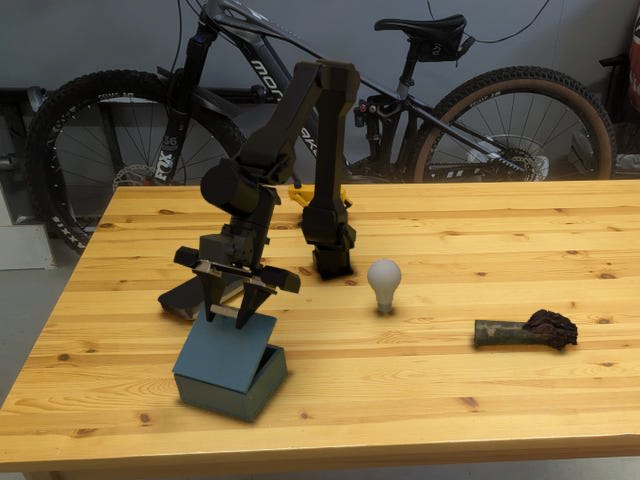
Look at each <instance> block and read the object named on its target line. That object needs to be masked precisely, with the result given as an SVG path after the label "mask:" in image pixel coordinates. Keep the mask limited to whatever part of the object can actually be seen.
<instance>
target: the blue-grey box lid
mask: <svg viewBox="0 0 640 480" xmlns="http://www.w3.org/2000/svg"><path fill="white" fill-rule="evenodd" d="M239 309H240V307H237V306H232V305H227V304H223V303H220V304H217V303H213V304H212V305H211V309H210V310H211V313H213V314H216V315H215V317H214V319H213V321H212V322H207V321H206V312H205V302H204V303H203V305H202V307H201V309H200V311H199V313H198V315H197V318H195V319H194V322H193V324H192V327H191V329H190V330H189V333H188V335H187V337H186V339H185V341H184V343H183V346H182V347H181V350H180V352H179V354H178V356H177V358H176V360H175V362H174V365H173V366H172V369H171V373H173V374H178V375H182V376H186V377H189V378H193V379H196V380H200V381H203V382H207V383H210V384H214V385H217V386H221V387H224V388H228V389H231V390H235V391H238V392H242V393H245V394H246V393H247V391H248V389H249V386H250V384H251V381H252V379H253V377H254V374H255V372H256V370H257V367H258V365H259V362H260V360H261V358H262V355H263V353H264V351H265V348H266V346H267V343H268V344H269V341H270V339H271V336H272V333H273V331H274V330H275V326H276V324H277V322H278V318H277V317H275V316H272V315H268V314H264V313H261V312H257V311H255V313H254V314H253V315H252V316H251V318H250V319H249V320H248V321H247V323H246V324H245V325H244V326H243V328H242V329H241V330H238V329H236V328H235V327H236V321H237V316H238V313H239Z"/></svg>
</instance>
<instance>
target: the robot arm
mask: <svg viewBox="0 0 640 480" xmlns="http://www.w3.org/2000/svg"><path fill="white" fill-rule="evenodd" d="M360 87H361V74H360V72H359V71H358V70H357V68H356V66H355V64H354V63H352V62H347V61H340V60H333V59H332V60H331V59H326V58H325V59H324V58H319V59H318V58H317V60H316V61H307V60H300V61H297V62H296V63H295V65H294V66H293V73H292V77H291V78H290V80H289V83H288V85H287V87H286V88H285V90H284V92H283V94H282V95H281V97H280V99H279V101H278V103H277V104H276V106H275V108H274V110H273V112H272V114H271V116H270V118H269V119H268V121H267V122H266V124H265V125H264V126H262V127H260V128H258V129H257V130H254V131H253V132H251V134H250V135H249V136H248V138H247V139H246V140H245V142H244V143H243V144H242V145H241V148H240V149H239V150H238V151H237V152H236V153H235V154H234V155H233V156H232V157H231V158H229V157H224V156H221V157H220V159H219V163H218V164H216V165H214V166H212V167H210V168H209V169H208V170H207V171H206V172H205V174H204V175H203V176H202V177H201V179H200V183H199V191H200V194H201V197H202V199H203V200H204V201H205V202H207V203H208V204H210V205H212V206H214V207H215V208H217V209H219V210H221V211H222V212H225V214H228V215H230V220H229V223H223V225H222V226H221V228H220V229H221V230H220V232H219V233H209V234H204V235H200V236H199V242H198V243H199V244H198V248H193V247H190V246H185V245H181V246H180V247H179V248H177V250H175V252H174V257H173V260H172V262H173V263H174V264H177V265H180V266H183V267H186V268H189V269H191V273H192V274H193V275H194V274H195V276H198V278H199V280H200V281H201V284H202V288H203V293H204V302H205V312H206V321H207V322H212V321H213V319H214V317H215V315H216V314H213V313H211V310H210V309H211V305H212V304H213V303H217V304H221V303H220V301H221V298H222V296H223V293H224V290H225V287H226V284H227V281H228V280H226V279H223V278H220V277H221V273H222V272H224V273H229V274H233V275H237V276H241V277H246V278H250V283H248V282H244V281H243V287H244V289H243V295H242V299H241V303H240V306H239V308H240V309H239V313H238V316H237V321H236V327H235V328H236V329H238V330H241V329H242V328H243V326H244V325H245V324H246V323H247V321H248V320H249V319H250V318H251V316H252V315H253V314H254V313H255V312H257V310H258V309H259V308H260V307H261V306H262V305H263V304H264V303H265V302H266V301H267V300H268V299H269V298H270V297H271V296H272V295H274V296H277V295H278V290H276V289H277V288H278V289H279V290H280V291H284V292H287V293H290V294H291V293H292V294H296V295H299V293H300V289H301V285H302V280H301V277H300V275H299V274H297V273H296V272H293V271H291V270H289V269H286V268H282V267H277V266H273V265H269V264H263V263H261V261H262V256H263V253H264V249H265V246H270V242H271V238H269V237H268V234H269V230H270V226H271V221H272V217H273V215H274V210H275V206H281V205H282V200H281V196H280V195H279V194H278V190H277V187H275V186H279V185H280V186H281V185H285V184H286V183H287V182H288V181H289V179H290V178H291V177H292V176H291V175H292V172H293V169H294V167H295V164H296V162H297V155H296V149H295V146H296V143H297V141H298V139H299V136H300V135H301V132H302V131H303V129H304V127H305V125H306V123H307V121H308V119H309V118H310V115H311V113H312V111H313V109H314V108H315V110H316V112H317V130H316V132H317V133H316V147H315V148H316V149H315V150H316V151H315V169H314V171H315V172H314V186H315V187H314V197H313V198H312V200H311V201H310V202H308V203H309V204H308V206H305V207H304V208H303V207H302V214H303V217H302V219H303V220H302V219H301V220H302V224H301V226H300V228H301V232H302V235H303V238H304V240H305V244H306V245H308V246H309V245H310V246H311V245H312V246H313V249H312V250H311V256H312V265H313V266H312V267H313V269H314V270H315V272H316V273H317V275H319V277H320V278H321V280H322V281H329V280H333V279H337V278H342V277H345V276H346V277H347V276H350V275H353V274H354V273H355V272H354V269H353V268H352V266H351V253H350V252H351V251H350V250H353V249H355V247H356V244H355V243H356V241H357V230H356V229H355V228H354V227H353V226H352V225H350V224H349V215H348V212H349V211H348V209H346V208H345V206H346V205H345V204H344V203H343V202H342V200H341V197H340V194H341V188H342V177H343V163H344V149H345V148H344V147H345V137H346V135H345V134H346V120H347V115H348V114H349V112H350V111H351V109H352V108H353V107H354V105H355V104H356V103H357V98H358V97H357V96H358V92H359V89H360ZM347 211H348V212H347ZM228 264H229V265H232V266H229V265H228ZM233 265H235V266H234V267H233ZM243 268H245V269H243ZM246 268H247V269H246Z"/></svg>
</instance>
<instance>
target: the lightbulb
mask: <svg viewBox="0 0 640 480" xmlns="http://www.w3.org/2000/svg"><path fill="white" fill-rule="evenodd" d="M366 278H367V282H368V284H369V286H370V288H371V289H372V290H373V292H374V295H375V300H376V302H377V309H378V311H379V312H381V313H384V314H385V313H389V312H390V311H391V310H392V309H393V308H392V307H393V301H394V297H395V296H394V295H395V292H396V290H397V289H398V288H399V285H400V284H401V281H402V271H401V267H400V266H399V265H398V264H397V263H396V262H395V261H394V260H392V259H389V258H380V259H377V260H375V261H373V262H372V263H371V264H370V266H369V267H368V270H367V273H366Z"/></svg>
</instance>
